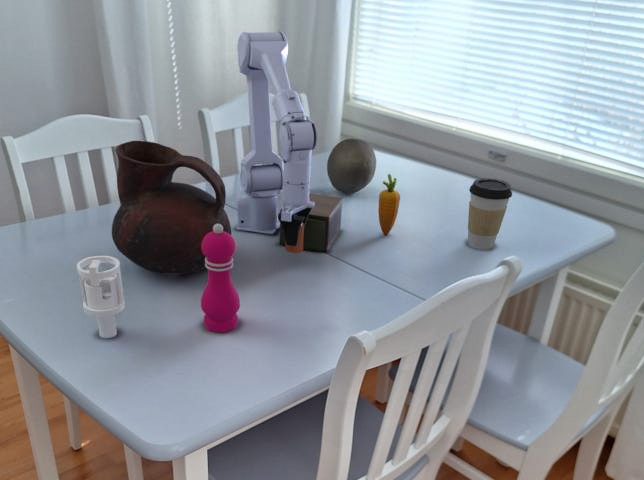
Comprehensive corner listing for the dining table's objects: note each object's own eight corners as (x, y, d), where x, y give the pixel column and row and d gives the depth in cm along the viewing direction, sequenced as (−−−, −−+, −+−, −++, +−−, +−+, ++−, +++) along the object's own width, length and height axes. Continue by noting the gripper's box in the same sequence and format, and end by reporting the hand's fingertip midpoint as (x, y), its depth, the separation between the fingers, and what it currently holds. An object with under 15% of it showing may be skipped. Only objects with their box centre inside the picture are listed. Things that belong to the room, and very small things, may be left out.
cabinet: (326, 252, 156) (329, 217, 151) (279, 245, 158) (280, 210, 153) (340, 231, 167) (342, 197, 162) (295, 224, 169) (296, 191, 164)
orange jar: (283, 251, 148) (283, 220, 144) (288, 244, 151) (289, 214, 147) (300, 254, 147) (301, 223, 143) (305, 247, 150) (306, 216, 146)
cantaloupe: (315, 194, 189) (317, 140, 180) (341, 181, 198) (345, 130, 190) (358, 205, 182) (362, 150, 174) (383, 192, 192) (389, 139, 184)
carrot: (394, 240, 163) (401, 180, 155) (374, 238, 164) (380, 177, 155) (396, 233, 167) (403, 173, 159) (376, 230, 168) (382, 171, 159)
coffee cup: (504, 241, 165) (517, 181, 157) (496, 255, 158) (509, 194, 149) (465, 233, 168) (475, 174, 160) (455, 247, 161) (466, 186, 153)
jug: (200, 300, 134) (193, 177, 120) (93, 276, 140) (75, 157, 127) (251, 253, 153) (250, 142, 140) (155, 234, 160) (145, 127, 146)
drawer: (322, 252, 153) (323, 224, 149) (278, 245, 155) (279, 217, 152) (335, 230, 164) (337, 204, 161) (295, 224, 166) (296, 198, 163)
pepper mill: (202, 315, 129) (197, 216, 118) (240, 314, 129) (238, 216, 118) (200, 334, 123) (195, 232, 112) (240, 334, 123) (238, 232, 112)
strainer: (83, 343, 119) (70, 266, 110) (93, 323, 124) (82, 248, 116) (123, 344, 119) (113, 267, 110) (131, 324, 125) (123, 250, 116)
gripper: (305, 194, 134) (302, 256, 141) (323, 172, 145) (320, 231, 153) (271, 189, 135) (271, 251, 142) (292, 169, 147) (290, 227, 154)
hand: (294, 241), depth 148 cm, fingers closed on orange jar, 4 cm apart
